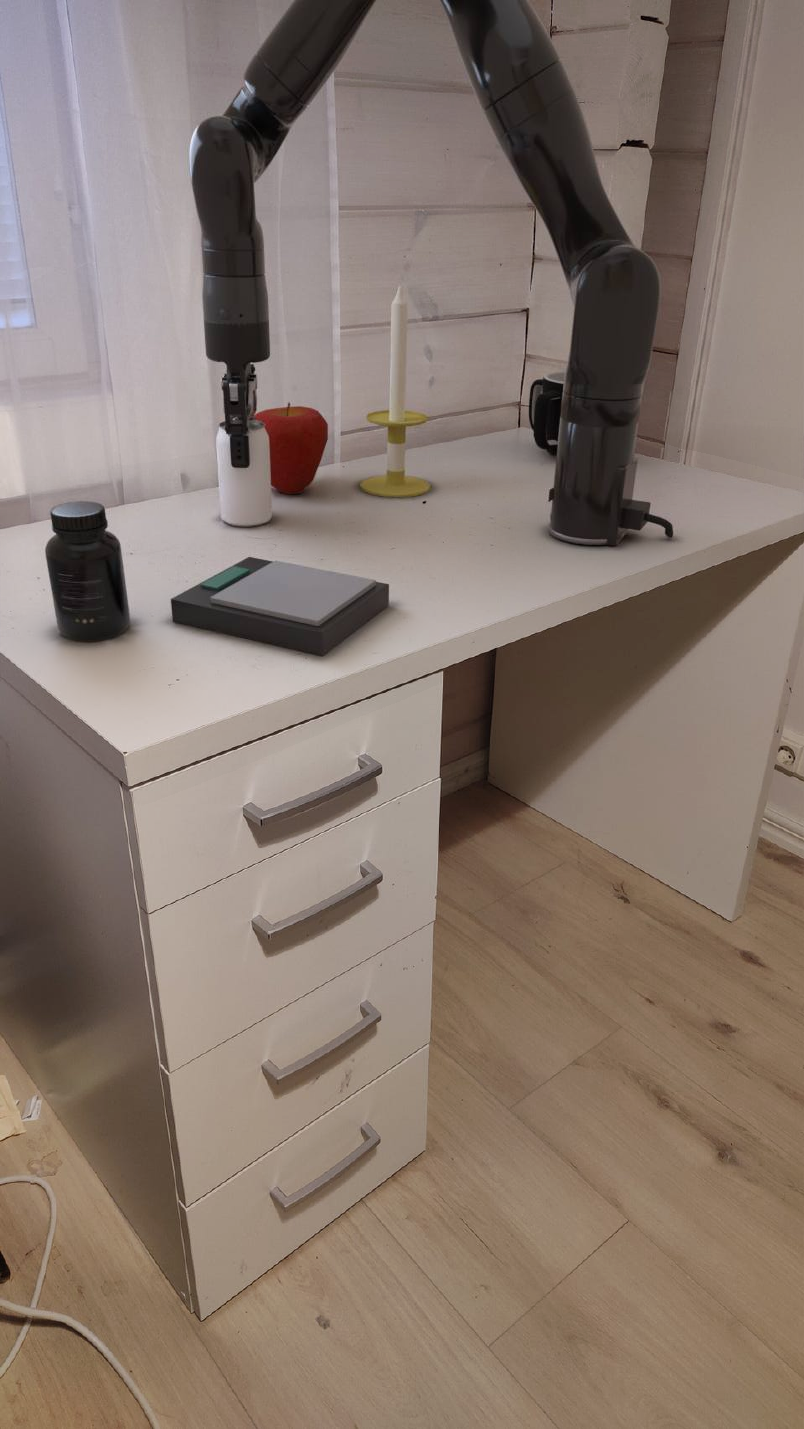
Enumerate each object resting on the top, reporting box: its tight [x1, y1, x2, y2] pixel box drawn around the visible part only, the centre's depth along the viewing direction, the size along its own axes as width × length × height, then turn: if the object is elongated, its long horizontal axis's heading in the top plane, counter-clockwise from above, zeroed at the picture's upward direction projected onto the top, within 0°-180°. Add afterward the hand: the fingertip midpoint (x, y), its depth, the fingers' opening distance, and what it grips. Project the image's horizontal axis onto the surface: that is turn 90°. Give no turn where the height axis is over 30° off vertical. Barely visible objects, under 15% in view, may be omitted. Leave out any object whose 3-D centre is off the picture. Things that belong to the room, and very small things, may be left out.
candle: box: [359, 281, 431, 498], centre depth 137 cm, size 10×10×27 cm
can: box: [215, 419, 273, 528], centre depth 126 cm, size 6×6×12 cm
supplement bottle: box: [44, 500, 131, 642], centre depth 95 cm, size 7×7×12 cm
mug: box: [528, 370, 565, 457], centre depth 160 cm, size 16×16×12 cm
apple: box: [255, 401, 329, 495], centre depth 138 cm, size 11×11×12 cm
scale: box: [170, 556, 390, 657], centre depth 101 cm, size 17×14×3 cm
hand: (243, 459), depth 125 cm, fingers closed on can, 6 cm apart
